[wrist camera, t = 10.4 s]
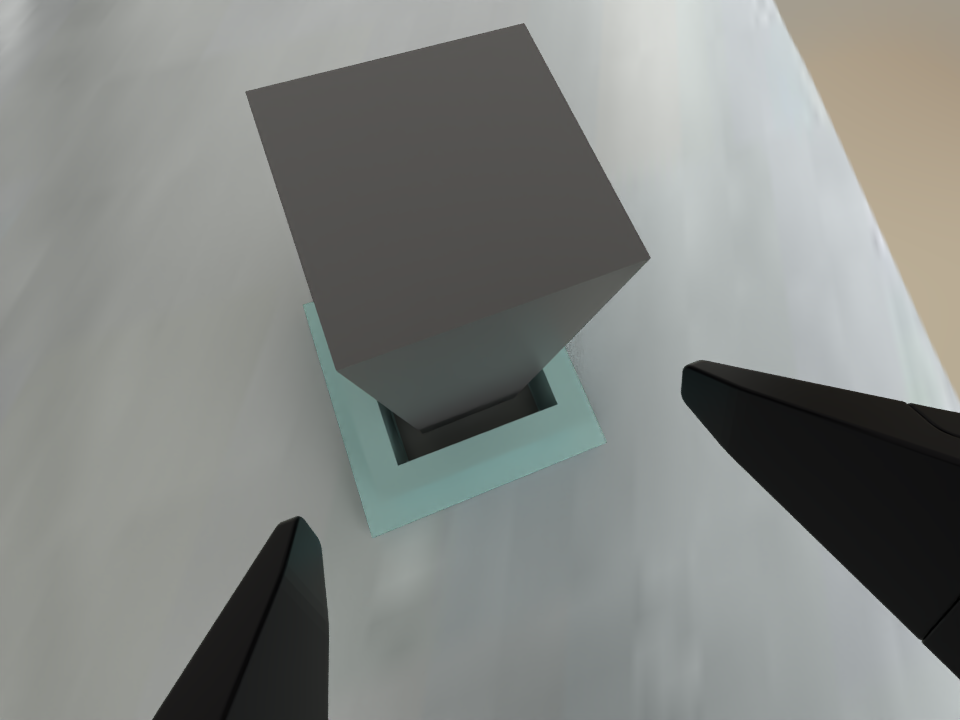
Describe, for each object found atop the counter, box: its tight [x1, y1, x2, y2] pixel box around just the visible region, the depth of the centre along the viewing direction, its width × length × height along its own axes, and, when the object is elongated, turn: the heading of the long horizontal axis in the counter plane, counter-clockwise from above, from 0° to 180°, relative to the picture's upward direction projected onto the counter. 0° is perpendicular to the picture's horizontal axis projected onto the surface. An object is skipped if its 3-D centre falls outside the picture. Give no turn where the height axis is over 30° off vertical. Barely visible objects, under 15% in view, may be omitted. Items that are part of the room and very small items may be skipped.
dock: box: [303, 302, 607, 538], centre depth 17 cm, size 11×11×4 cm
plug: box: [246, 23, 650, 434], centre depth 12 cm, size 4×4×13 cm
